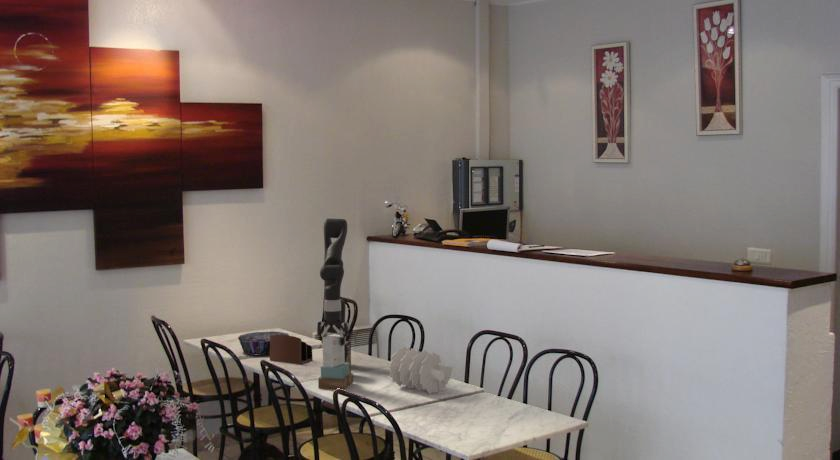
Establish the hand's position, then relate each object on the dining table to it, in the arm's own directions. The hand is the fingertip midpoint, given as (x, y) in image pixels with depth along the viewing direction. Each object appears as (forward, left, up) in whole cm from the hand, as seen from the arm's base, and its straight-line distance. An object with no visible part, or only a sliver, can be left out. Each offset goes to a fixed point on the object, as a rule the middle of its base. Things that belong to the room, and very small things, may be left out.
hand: (333, 345), depth 381 cm
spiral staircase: (-3, +39, -19) cm, 43 cm away
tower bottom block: (0, +1, -19) cm, 19 cm away
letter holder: (-41, -38, -19) cm, 60 cm away
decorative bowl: (-59, -62, -19) cm, 88 cm away
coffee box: (-17, -2, -19) cm, 25 cm away
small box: (0, 0, -9) cm, 9 cm away
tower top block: (0, +1, -14) cm, 14 cm away
